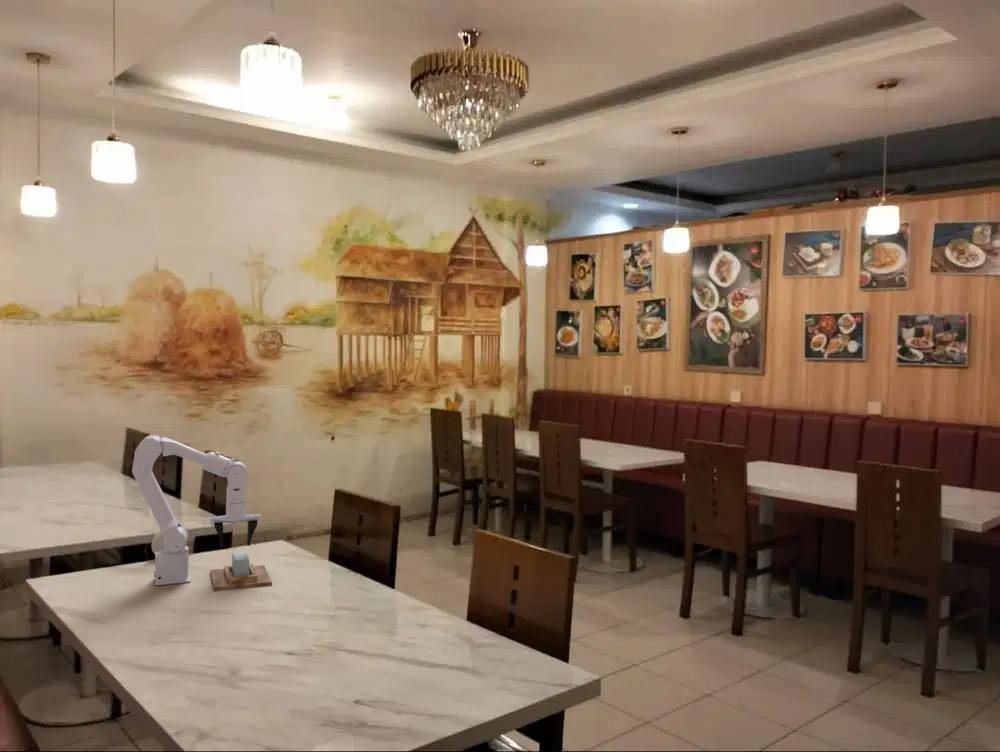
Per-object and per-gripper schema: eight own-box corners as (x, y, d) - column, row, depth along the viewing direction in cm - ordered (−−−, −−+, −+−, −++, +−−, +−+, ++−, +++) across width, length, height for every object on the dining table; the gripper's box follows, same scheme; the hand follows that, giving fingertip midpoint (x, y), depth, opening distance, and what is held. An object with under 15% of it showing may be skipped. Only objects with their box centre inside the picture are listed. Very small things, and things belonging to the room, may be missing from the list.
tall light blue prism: (234, 580, 222) (235, 560, 222) (231, 571, 230) (232, 552, 230) (248, 579, 224) (249, 559, 223) (245, 570, 232) (245, 551, 232)
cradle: (214, 590, 215) (214, 582, 215) (210, 573, 231) (210, 565, 231) (271, 585, 222) (271, 576, 222) (263, 568, 238) (264, 560, 238)
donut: (154, 561, 241) (154, 531, 241) (149, 559, 244) (149, 529, 243) (184, 556, 249) (184, 526, 249) (179, 553, 251) (179, 524, 251)
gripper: (259, 498, 235) (258, 541, 235) (210, 500, 229) (209, 544, 229) (262, 502, 228) (261, 546, 229) (211, 505, 223) (210, 550, 223)
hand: (235, 545), depth 229 cm, fingers open, 7 cm apart
